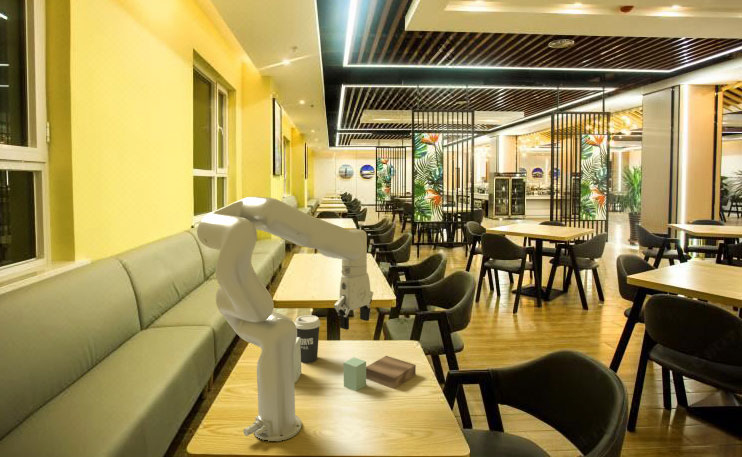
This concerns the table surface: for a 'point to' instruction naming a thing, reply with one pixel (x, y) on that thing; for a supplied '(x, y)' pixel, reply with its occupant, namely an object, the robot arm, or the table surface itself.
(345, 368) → the sage block
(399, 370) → the block
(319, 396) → the table surface
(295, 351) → the supplement box
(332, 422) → the table surface
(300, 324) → the coffee cup
